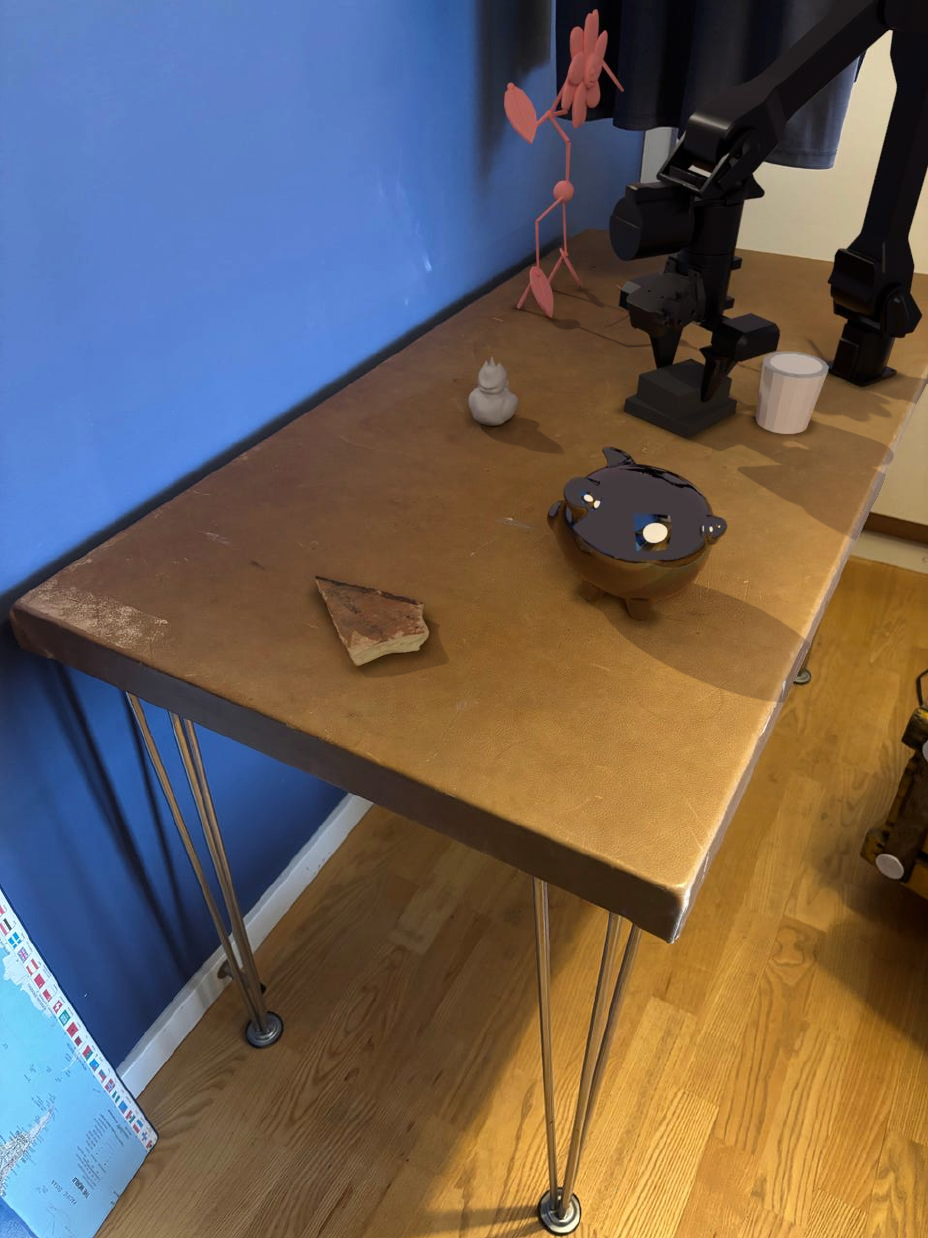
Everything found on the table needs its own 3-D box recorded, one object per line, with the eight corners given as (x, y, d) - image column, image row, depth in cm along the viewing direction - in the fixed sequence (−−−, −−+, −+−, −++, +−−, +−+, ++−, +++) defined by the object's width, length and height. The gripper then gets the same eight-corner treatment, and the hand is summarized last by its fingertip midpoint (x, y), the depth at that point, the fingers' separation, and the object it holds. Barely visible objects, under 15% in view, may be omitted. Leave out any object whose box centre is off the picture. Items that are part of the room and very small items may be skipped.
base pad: (671, 387, 109) (673, 375, 108) (735, 413, 104) (737, 400, 103) (623, 411, 105) (625, 398, 103) (687, 439, 99) (689, 426, 98)
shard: (316, 589, 79) (313, 572, 78) (400, 570, 81) (399, 554, 80) (348, 668, 71) (347, 651, 70) (441, 646, 73) (440, 628, 72)
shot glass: (815, 439, 99) (832, 379, 95) (751, 433, 100) (764, 373, 96) (810, 411, 105) (826, 352, 100) (749, 405, 106) (761, 347, 101)
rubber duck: (460, 428, 101) (459, 359, 96) (481, 403, 106) (482, 336, 101) (505, 437, 100) (508, 368, 95) (525, 411, 104) (528, 344, 99)
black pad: (687, 380, 107) (691, 358, 105) (727, 401, 103) (732, 378, 101) (635, 397, 104) (638, 374, 102) (675, 419, 100) (679, 396, 98)
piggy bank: (575, 532, 86) (585, 421, 78) (729, 583, 79) (756, 468, 72) (516, 594, 78) (521, 478, 71) (681, 656, 72) (705, 536, 65)
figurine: (484, 327, 123) (489, 20, 101) (562, 270, 141) (581, -3, 118) (589, 349, 118) (618, 29, 95) (657, 287, 135) (695, 4, 113)
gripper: (587, 235, 95) (575, 376, 105) (715, 289, 83) (688, 442, 93) (666, 218, 100) (648, 354, 110) (799, 267, 88) (765, 415, 98)
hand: (683, 389), depth 103 cm, fingers closed on black pad, 6 cm apart
